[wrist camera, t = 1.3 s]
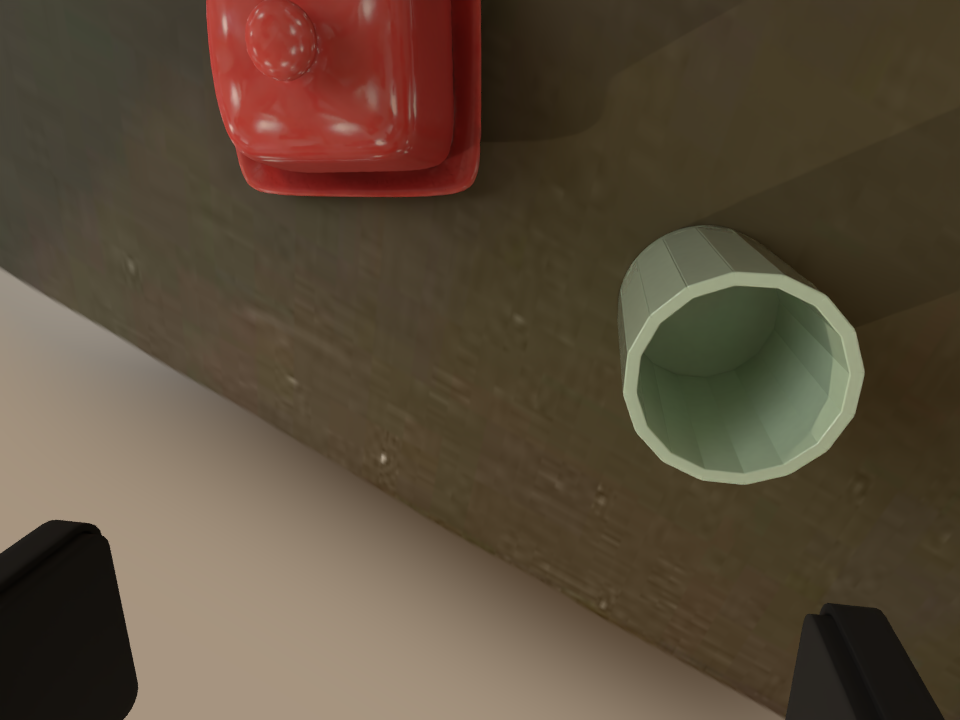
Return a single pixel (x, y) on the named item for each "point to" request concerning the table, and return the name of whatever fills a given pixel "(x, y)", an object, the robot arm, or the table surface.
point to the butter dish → (350, 94)
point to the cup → (733, 358)
